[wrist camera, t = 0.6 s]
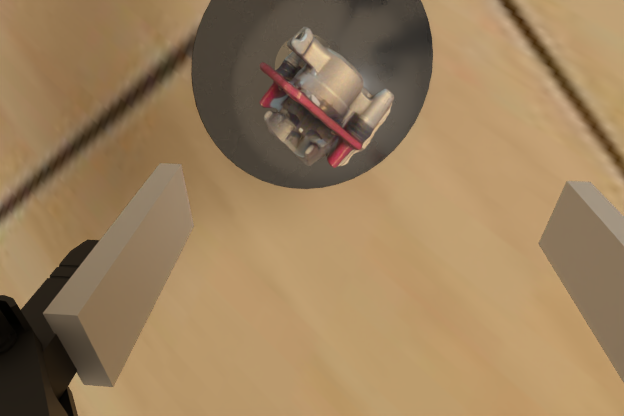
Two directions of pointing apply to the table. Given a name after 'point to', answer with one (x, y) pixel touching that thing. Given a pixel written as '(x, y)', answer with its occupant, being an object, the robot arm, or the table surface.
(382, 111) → the brake caliper
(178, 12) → the table surface
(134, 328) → the robot arm
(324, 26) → the disc
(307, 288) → the table surface
